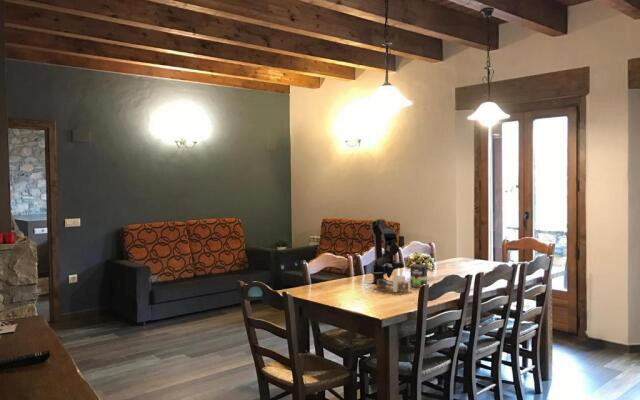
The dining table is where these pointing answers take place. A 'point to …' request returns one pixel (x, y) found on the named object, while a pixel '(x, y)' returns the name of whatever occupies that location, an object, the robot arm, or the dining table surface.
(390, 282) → the pipe
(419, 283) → the coffee can
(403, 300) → the dining table surface
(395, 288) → the collar
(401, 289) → the wall mounted rod holder
